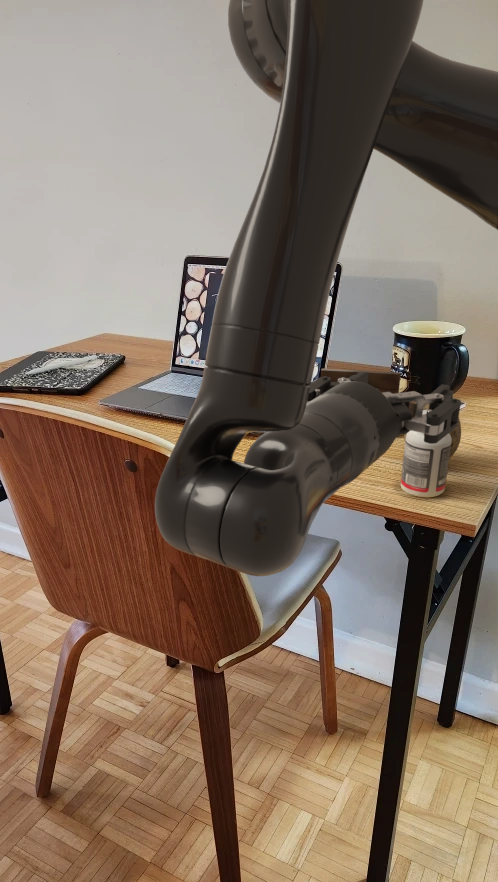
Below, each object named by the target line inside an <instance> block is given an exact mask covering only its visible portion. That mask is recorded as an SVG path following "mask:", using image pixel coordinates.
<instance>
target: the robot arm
mask: <svg viewBox="0 0 498 882" xmlns="http://www.w3.org/2000/svg"><path fill="white" fill-rule="evenodd" d="M423 5H424V0H229V3H228V8H227V9H228V10H227V11H228V12H227V17H228V18H227V27H228V32H229V37H230V42H231V45H232V47H233V51H234V53H235V56H236V58H237V60H238V62H239V64H240V65H241V67H242V69H243V71H244V72H245V74H246V75H247V77H248V78H249V79H250V80H251V82H252V83H253V84H254V85H255V86H256V87H258V88H259V89H260V91H262V92H263V93H264V94H265V95H266V96H267V97H269V98H270V99H271V100H273V101H275V102H277V103H278V104H279V108H278V114H277V119H276V123H275V128H274V131H273V135H272V139H271V143H270V147H269V149H268V153H267V157H266V160H265V164H264V167H263V170H262V173H261V175H260V179H259V181H258V185H257V187H256V190H255V191H254V194H253V197H252V199H251V203H250V204H249V208H248V209H247V211H246V212H247V213H246V214H245V217H244V218H243V219H244V220H243V222H242V224H241V227H240V229H239V232H238V234H237V237H236V239H235V242H234V245H233V247H232V249H231V253H230V254H229V258H228V260H227V263H226V266H225V269H224V272H223V274H222V275H223V276H222V278H221V282H220V286H219V289H218V293H217V297H216V301H215V306H214V310H213V315H212V321H211V326H210V333H209V338H208V343H207V348H206V355H205V360H204V366H205V367H203V372H202V378H201V383H200V387H199V390H198V393H197V394H196V397H195V399H194V402H193V404H192V406H191V408H190V411H189V413H188V414H187V417H186V419H185V422H184V425H183V427H182V428H181V432H180V433H179V436H178V438H177V440H176V442H175V444H174V447H173V448H172V451H171V453H170V455H169V456H168V459H167V461H166V463H165V466H164V467H163V469H162V471H161V474H160V477H159V480H158V483H157V486H156V491H155V495H154V496H155V497H154V516H155V517H154V518H155V522H156V525H157V528H158V531H159V534H160V536H161V537H162V538H163V540H164V542H166V543H167V544H168V545H169V546H171V548H174V549H176V550H177V551H180V552H182V553H185V554H189V555H190V556H195V557H197V558H201V559H203V560H206V561H210V562H211V563H214V564H217V565H220V566H223V567H226V568H227V569H231V570H233V571H237V572H239V573H242V574H245V575H247V576H253V577H269V576H272V575H276V574H278V573H281V572H283V571H284V570H285V571H286V569H288V568H290V566H292V565H293V564H294V563H295V562H296V560H297V559H298V558H299V556H300V554H301V552H302V550H303V548H304V545H305V543H306V541H307V537H308V535H309V531H310V529H311V527H312V525H313V523H314V520H315V519H316V516H317V515H318V513H319V511H320V509H321V507H322V505H323V504H324V503H325V502H326V501H327V500H329V498H331V497H332V496H333V495H334V494H336V493H337V492H338V491H339V490H340V489H342V488H343V487H345V486H347V485H349V484H350V483H352V482H353V481H355V480H356V479H357V478H358V477H359V476H360V475H362V474H363V473H364V472H366V470H368V469H369V468H370V467H371V466H373V464H374V463H375V462H377V461H378V460H379V459H380V458H381V457H382V456H383V455H385V454H386V453H387V451H389V449H390V448H391V447H392V445H393V444H394V442H395V440H396V439H397V438H398V437H399V436H403V435H404V434H406V433H408V432H409V431H416V432H420V433H424V442H426V443H430V444H434V443H437V442H439V441H440V440H441V439H442V438H443V437H445V436H446V435H447V434H448V433H450V432H451V431H452V430H453V429H455V428H456V427H457V424H458V417H459V418H460V410H461V405H462V401H461V400H460V399H458V398H455V397H454V390H451V389H450V384H449V385H448V384H442V383H441V384H440V385H439V386H438V387H437V388H436V389H434V390H433V391H432V392H430V393H428V394H422V393H419V392H417V391H415V390H412V391H405V392H399V393H396V394H392V393H390V392H383V393H381V392H380V391H379V390H378V389H376V388H375V387H373V386H371V385H369V384H368V372H363V371H364V370H362V371H361V372H359V373H357V374H356V375H352V376H350V377H349V378H339V379H338V382H331V378H329V377H326V376H323V377H321V376H320V377H318V378H316V379H315V380H313V381H312V379H313V375H314V369H315V366H316V361H317V356H318V351H319V344H320V340H321V335H322V330H323V325H324V320H325V314H326V310H327V306H328V301H329V296H330V292H331V288H332V284H333V280H334V277H335V272H336V270H337V269H336V268H337V265H338V261H339V257H340V254H341V251H342V247H343V244H344V240H345V237H346V233H347V230H348V227H349V224H350V220H351V217H352V214H353V211H354V208H355V205H356V203H357V199H358V196H359V193H360V190H361V187H362V184H363V181H364V178H365V175H366V172H367V169H368V167H369V163H370V160H371V157H372V154H373V152H374V151H376V152H378V153H379V154H380V155H381V154H382V155H383V156H384V157H387V158H388V159H390V160H392V161H393V162H395V163H397V164H398V165H400V166H401V167H402V168H403V169H405V170H407V171H408V172H410V173H411V174H412V175H414V176H415V177H416V178H419V179H420V180H421V181H423V182H425V183H426V184H427V185H429V186H431V187H432V188H434V189H435V190H437V191H438V192H440V193H442V194H443V195H445V196H446V197H448V198H449V199H451V200H452V201H454V202H456V203H457V204H458V205H461V206H462V207H464V208H465V209H467V210H468V211H470V212H471V213H472V214H473V215H475V216H477V217H478V218H479V219H480V220H481V221H484V222H485V223H486V224H487V225H489V226H491V227H492V228H494V229H495V230H497V231H498V70H497V71H496V70H493V69H488V68H483V67H479V66H477V65H471V64H467V63H463V62H460V61H457V60H452V59H449V58H446V57H444V56H442V55H438V54H437V53H435V52H432V51H431V50H429V49H426V48H425V47H423V46H422V45H420V44H418V43H417V42H415V41H413V39H414V36H415V33H416V31H417V27H418V25H419V20H420V17H421V13H422V9H423ZM406 403H408V406H407V405H406ZM425 404H429V409H428V410H427V413H426V414H422V413H423V407H424V405H425ZM252 432H260V433H261V432H264V433H263V434H261V435H260V436H259V437H257V439H256V440H254V441H253V443H252V444H251V445H250V446H249V448H248V449H247V451H246V454H245V455H244V459H243V462H241V461H236V460H233V458H234V457H233V456H234V454H235V452H236V450H237V448H238V447H239V445H240V443H241V442H242V441H243V439H244V438H245V437H246V436H247V435H248V434H249V433H252Z"/></svg>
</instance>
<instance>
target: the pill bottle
mask: <svg viewBox="0 0 498 882" xmlns="http://www.w3.org/2000/svg"><path fill="white" fill-rule="evenodd" d="M426 413H427V410H423V413H422V414H426ZM451 442H452V438H451V435H450V434H449V433H448V434H447V435H446V436H445V437H443V438H442V439H441V440H440V441H439V442H437V443H434V444H430V443H426V442H424V433H420V432H416V431H409V432H408V433H407V434H406V438H405V440H404V447H403V448H404V449H403V456H402V457H403V458H402V459H403V460H402V467H401V478H400V487H401V489H402V490H403V492H404V493H407V494H409V495H410V496H414V497H419V498H434V497H438V496H440V495H441V494H443V493H444V492H445V489H446V483H447V476H448V472H449V471H448V469H449V461H450V459H449V455H450V449H451Z"/></svg>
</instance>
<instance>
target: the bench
mask: <svg viewBox="0 0 498 882" xmlns="http://www.w3.org/2000/svg"><path fill="white" fill-rule="evenodd" d="M320 371H321V372H320V377H323V376H326V377H329V378H331V382H338V379H339V378H349V377H350V376H352V375H356V374H357V373H359V372H361V371H363V372H368V384H369V385H371V386H373V387H375V388H376V389H378V390H379V391H380V392H381V393H383V392H390V393H392V394H396V393H400V384H401V375H402V374H401V372H399V371H383V370H382V371H380V370H379V371H378V370H362V369H361V370H359V369H338V368H321V369H320Z"/></svg>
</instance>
